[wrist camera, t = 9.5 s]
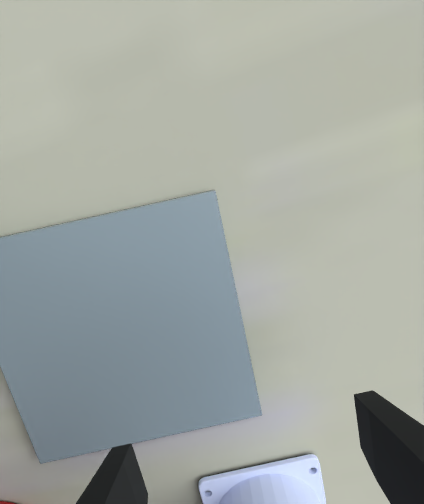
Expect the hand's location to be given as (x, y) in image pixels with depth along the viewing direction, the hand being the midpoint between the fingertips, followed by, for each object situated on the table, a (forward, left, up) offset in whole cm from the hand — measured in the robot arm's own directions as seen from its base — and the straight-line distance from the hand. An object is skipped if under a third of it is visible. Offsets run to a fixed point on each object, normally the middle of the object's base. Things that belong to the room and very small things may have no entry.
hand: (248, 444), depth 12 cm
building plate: (0, +6, -10) cm, 12 cm away
